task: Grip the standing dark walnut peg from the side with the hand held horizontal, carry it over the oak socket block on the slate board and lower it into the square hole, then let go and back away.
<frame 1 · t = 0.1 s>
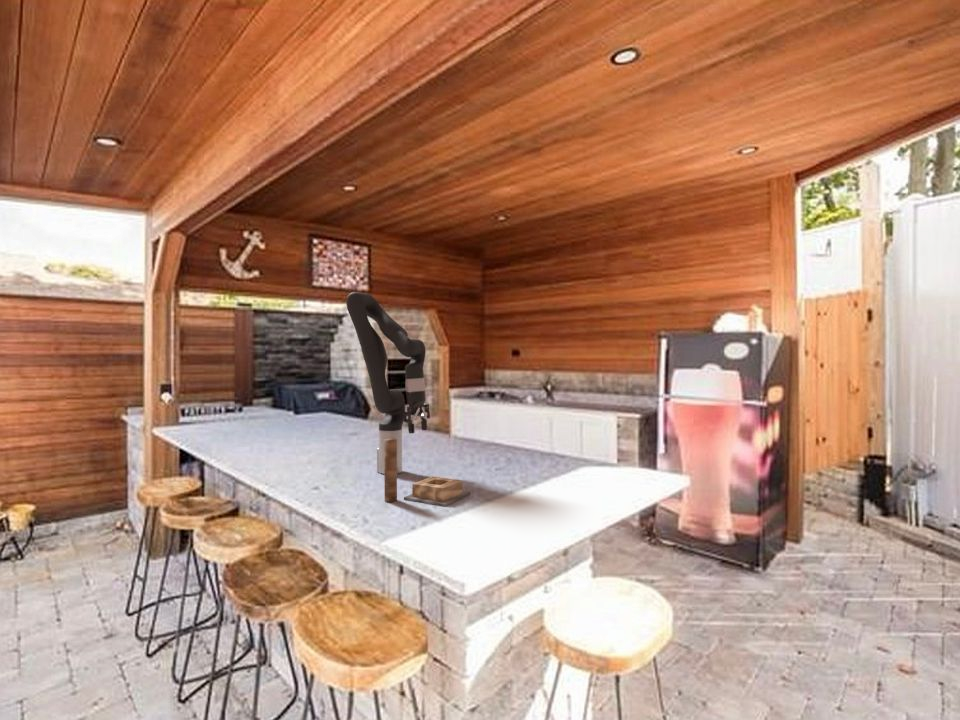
hand: (418, 431, 211), 17 cm above the countertop, tool pointing down, fingers open, 8 cm apart
peg: (390, 500, 176), on the countertop
socket block: (437, 496, 180), on the countertop
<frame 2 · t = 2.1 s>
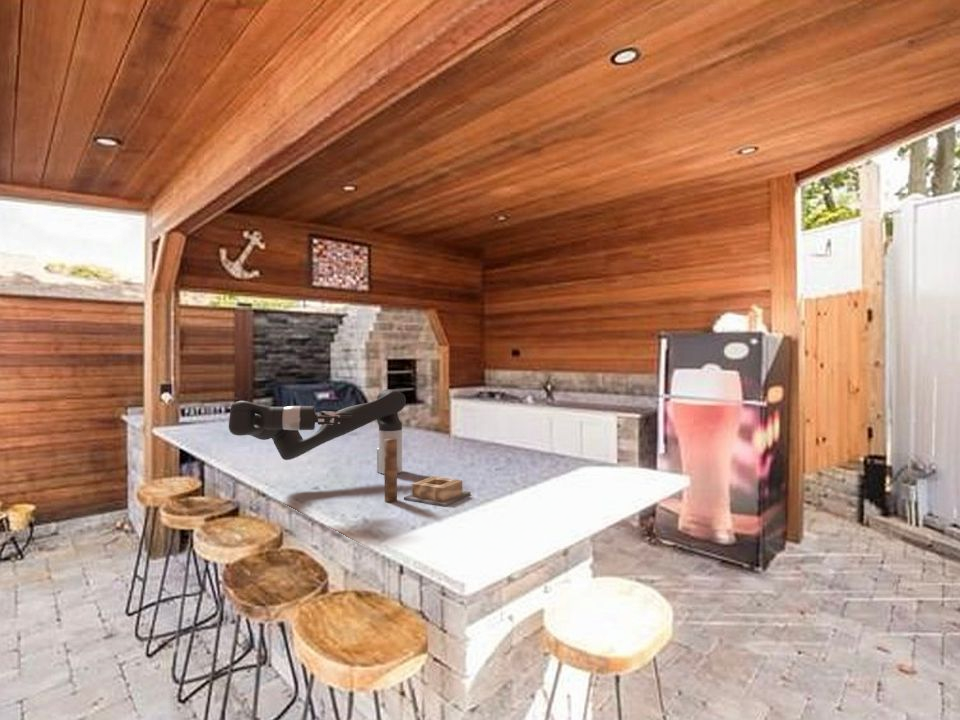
hand: (352, 417, 172), 27 cm above the countertop, tool horizontal, fingers open, 8 cm apart
nothing on the countertop moved.
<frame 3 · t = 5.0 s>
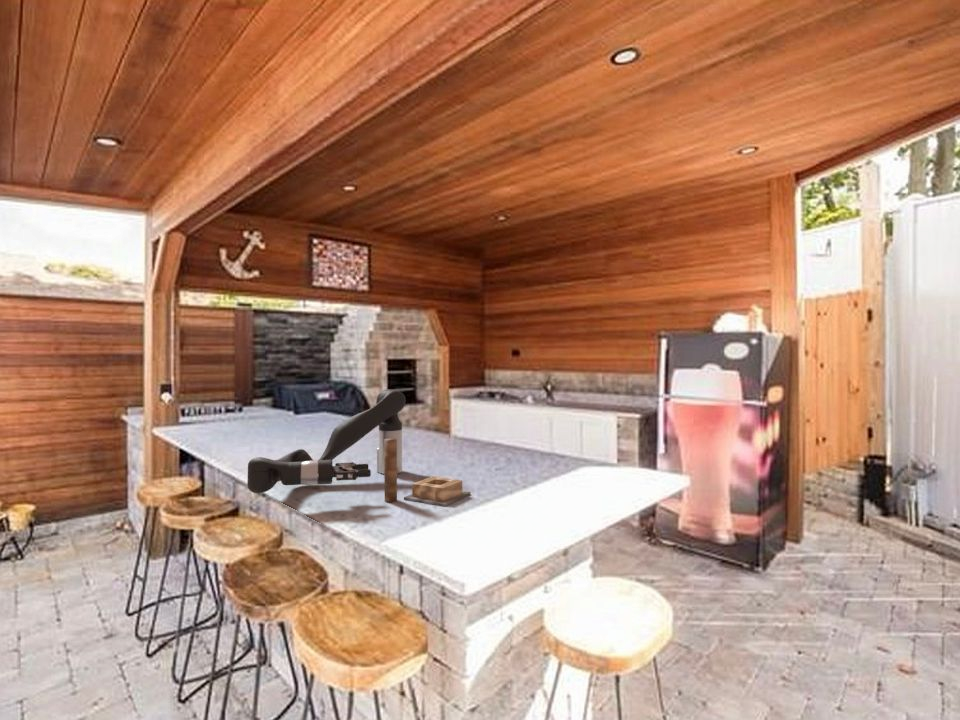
hand: (369, 470, 173), 11 cm above the countertop, tool horizontal, fingers open, 8 cm apart
nothing on the countertop moved.
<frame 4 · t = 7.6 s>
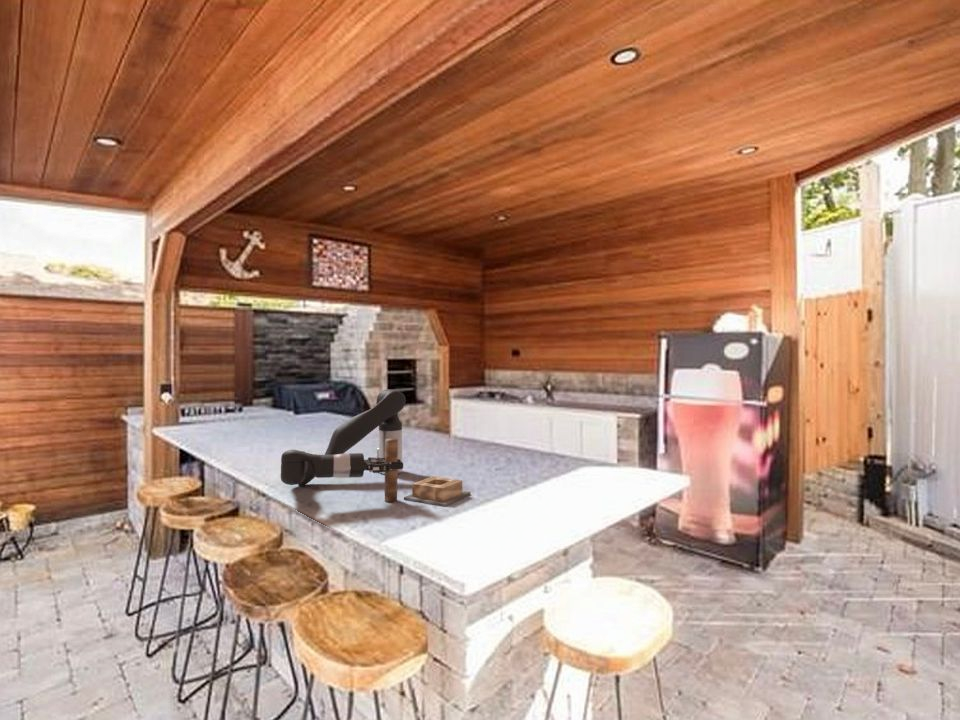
hand: (401, 464, 176), 12 cm above the countertop, tool horizontal, fingers closed on peg, 4 cm apart
peg: (390, 500, 176), on the countertop, touching gripper
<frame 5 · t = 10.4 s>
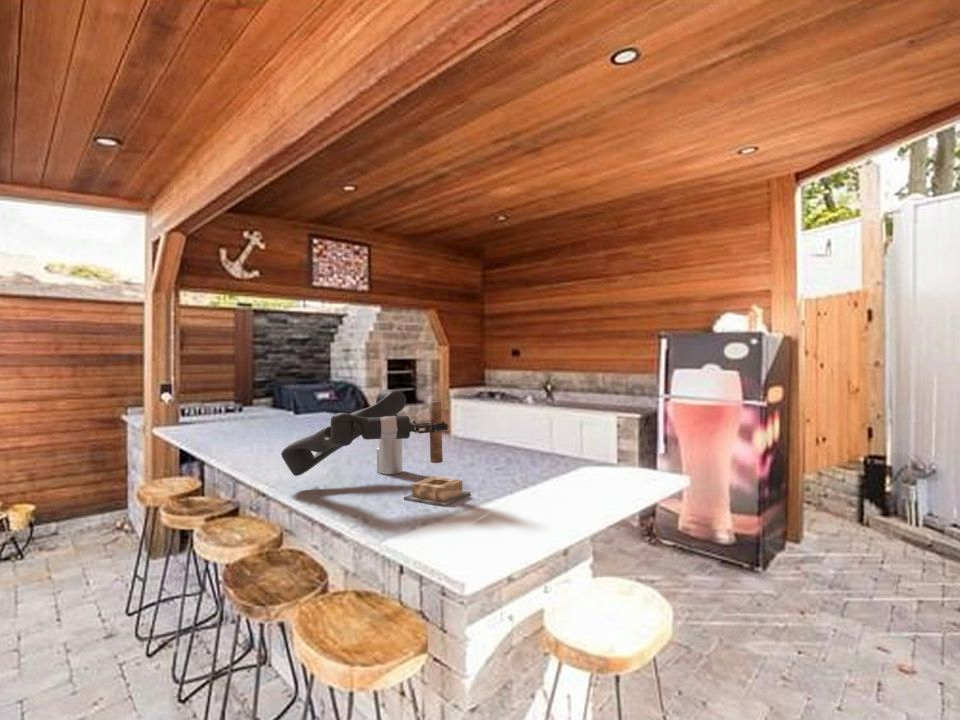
hand: (445, 425, 181), 24 cm above the countertop, tool horizontal, fingers closed on peg, 4 cm apart
peg: (436, 461, 180), point 12 cm above the countertop, touching gripper
when the fingers open (14 cm above the countertop, at t = 13.0 s): peg drops 2 cm, resting on socket block.
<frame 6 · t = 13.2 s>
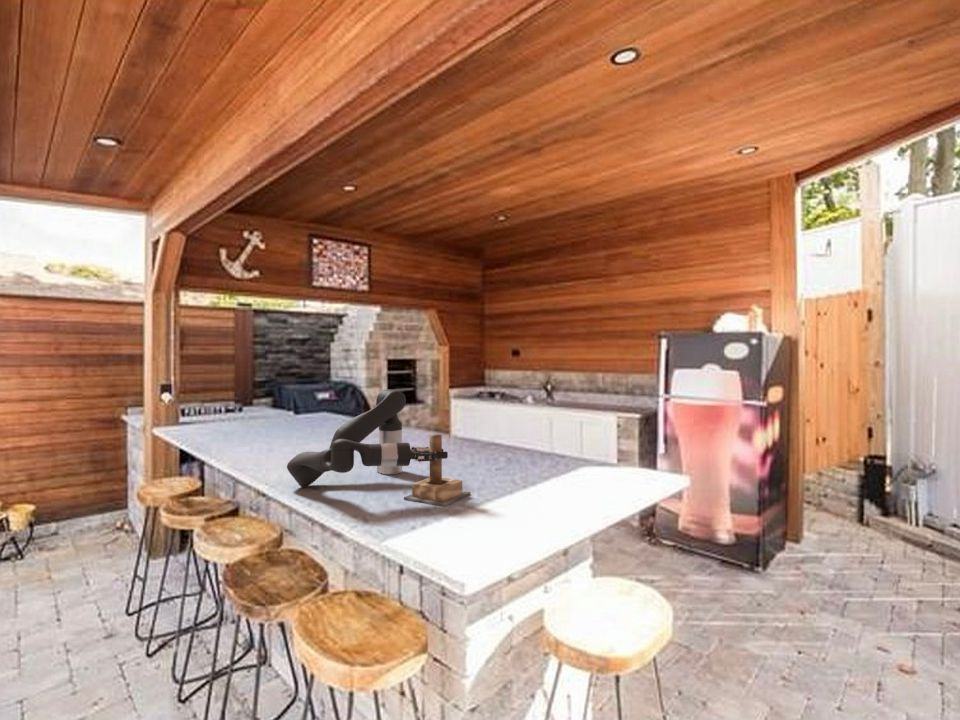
hand: (445, 453, 181), 14 cm above the countertop, tool horizontal, fingers open, 5 cm apart
peg: (435, 494, 180), point 1 cm above the countertop, touching socket block
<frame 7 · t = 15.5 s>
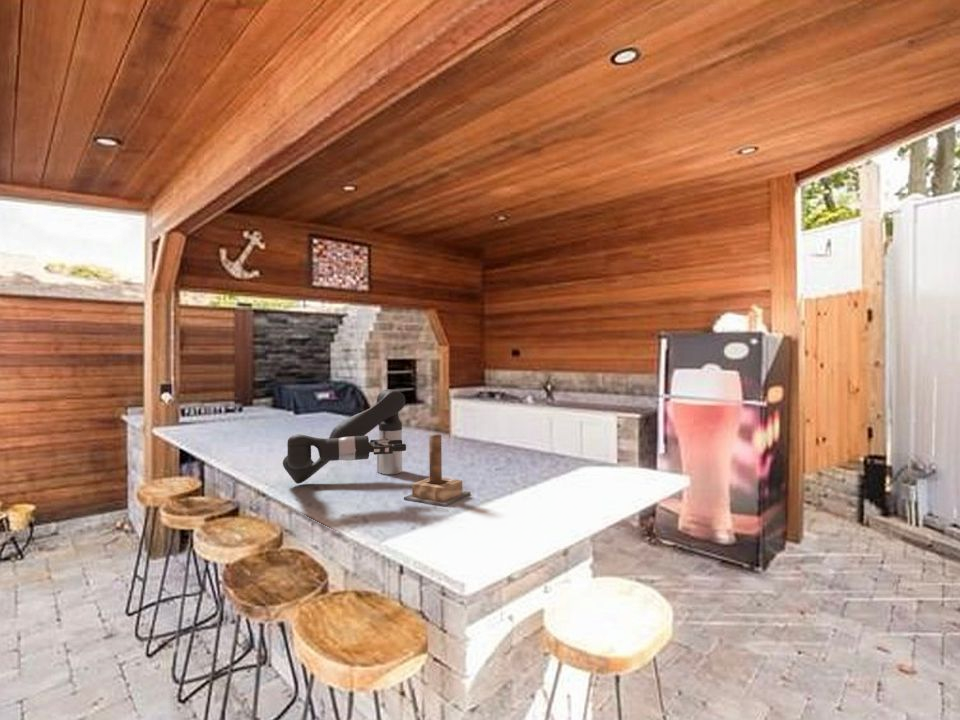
hand: (403, 445, 177), 18 cm above the countertop, tool horizontal, fingers open, 8 cm apart
nothing on the countertop moved.
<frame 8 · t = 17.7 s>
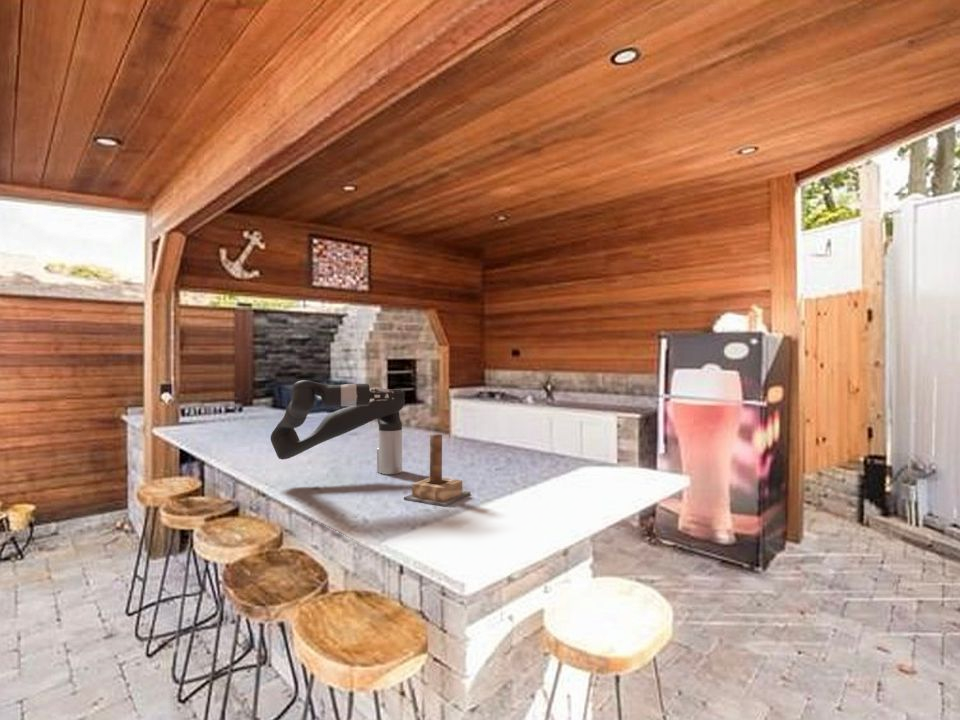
hand: (403, 393, 186), 34 cm above the countertop, tool horizontal, fingers open, 8 cm apart
nothing on the countertop moved.
at the end: peg 0.8 cm off-centre on the socket block, point 0.8 cm above the socket block's base; peg tilted 1°; the gripper is holding nothing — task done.
